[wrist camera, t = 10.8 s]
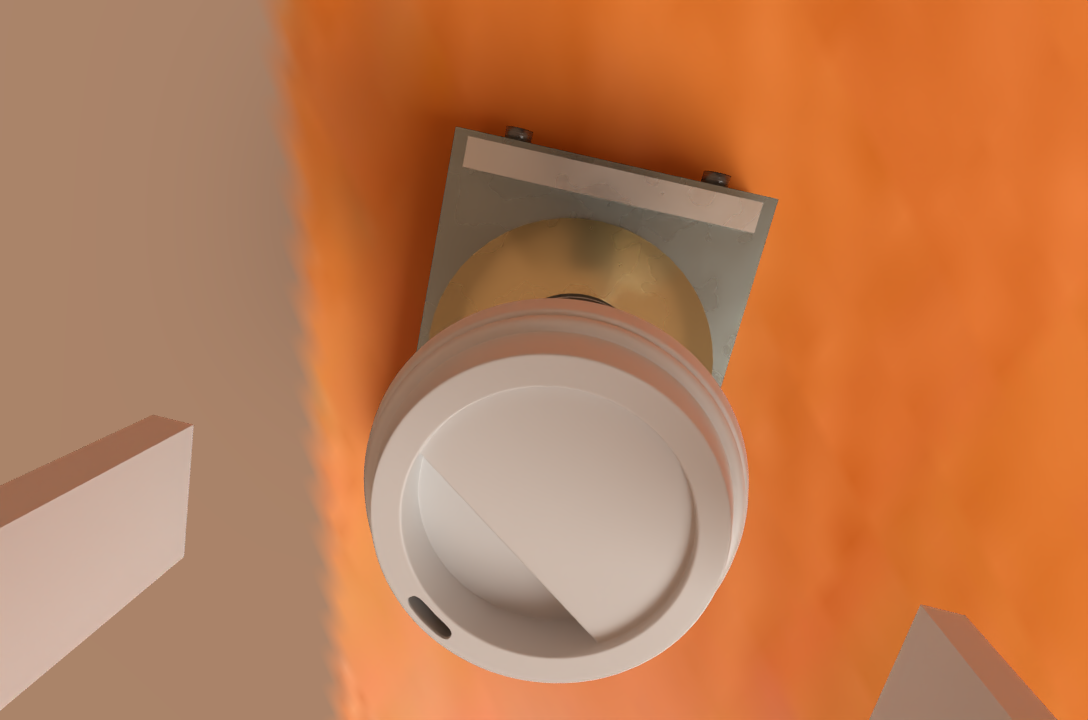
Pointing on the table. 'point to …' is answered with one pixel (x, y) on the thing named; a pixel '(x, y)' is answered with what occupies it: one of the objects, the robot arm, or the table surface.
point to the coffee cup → (555, 489)
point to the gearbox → (594, 240)
